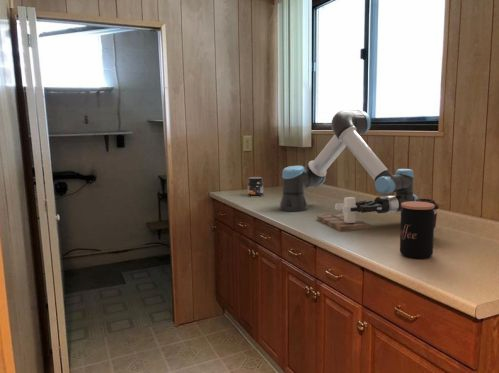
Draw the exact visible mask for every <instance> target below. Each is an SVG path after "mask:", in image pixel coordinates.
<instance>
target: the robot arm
mask: <svg viewBox="0 0 499 373" xmlns="http://www.w3.org/2000/svg"><path fill="white" fill-rule="evenodd" d="M371 123H372V122H371V117H370V115H369V114H368V113H367V112H366V111H364V110H340V111H338V112H337V113H335V114H334V115H333V117H332V119H331V130H332V132H333V134H334V135H333V136H332V137H331V139H330V140H329V141H328V142H327V143H326V145H325V146H324V148H323V149H322V150H321V151H320V152H319V154H318V155H316V157H315V159H314V160H310V161H309V162H308V163H307V164H306V165H305V166H303V165H291V166H287V167H284V168H283V169H282V174H281V177H282V196H281V200H280V203H279V210H281V211H284V212H302V211H306V210H308V204H307V200H306V197H305V189H308V188H317V187H319V186H322V185H323V184H324V183H325V181H326V176H327V173H328V172H327V170H328V169H329V168H330V166H331V165H333V164H332V163H334V162H335V161H336V159H337V158H338V157H339V156H340V154H341V153H342V152H343V151H344V150H345V149H346V148H348V149H349V151H350V152H351V153H352V155H353V156H354V157H355V158H356V159H357V161H358V162H359V164H360V165H361V166H362V167H363V168H364V170H365V171H366V172H367V173H368V174H369V176H370V177H371V178H372V180H373V181H374V187H375V190H376V191H377V192H378V194H381V195H384V196H377V197H375V198H374V200H368V201H367V200H358V201H357V200H356V206H344V202H343V203H335V204H334V206H335V207H334V210H336V211H341V210H342V214H344V213H351V212H355V213H362V214H364V213H373V212H376V213H377V214H390V215H391V214H393V213H399V212H400V213H401V210H402V209H403V208H402V206H401V203H403V202H409V201H416V200H417V199H419V197H418V196H417V195H416V194H414V180H415V179H414V178H415V177H414V176H415V175H414V170H413V169H410V168H398V169H397V170H396V172H395V174H392V172H391V171H390V170H389V169H388V168H387V167H386V165H385V164H384V163H383V162H382V161H381V159H380V158H379V157H378V156H377V155H376V153H374V150H372V149H371V147H370V146H369V145H368V144H367V143H366V142H365V139H363V138H362V136H361V135H364V134H366V133H368V131H369V130H370V129H371ZM392 193H395V195H389V194H392Z"/></svg>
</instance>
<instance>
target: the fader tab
mask: <svg viewBox="0 0 499 373" xmlns="http://www.w3.org/2000/svg"><path fill="white" fill-rule="evenodd" d="M356 199H357V198H356V197H355V196H348V197H344V198H343V203H344V206H356V201H357V200H356ZM343 214H344V222H346V223H355V218H356V212H351V213H343Z"/></svg>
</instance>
